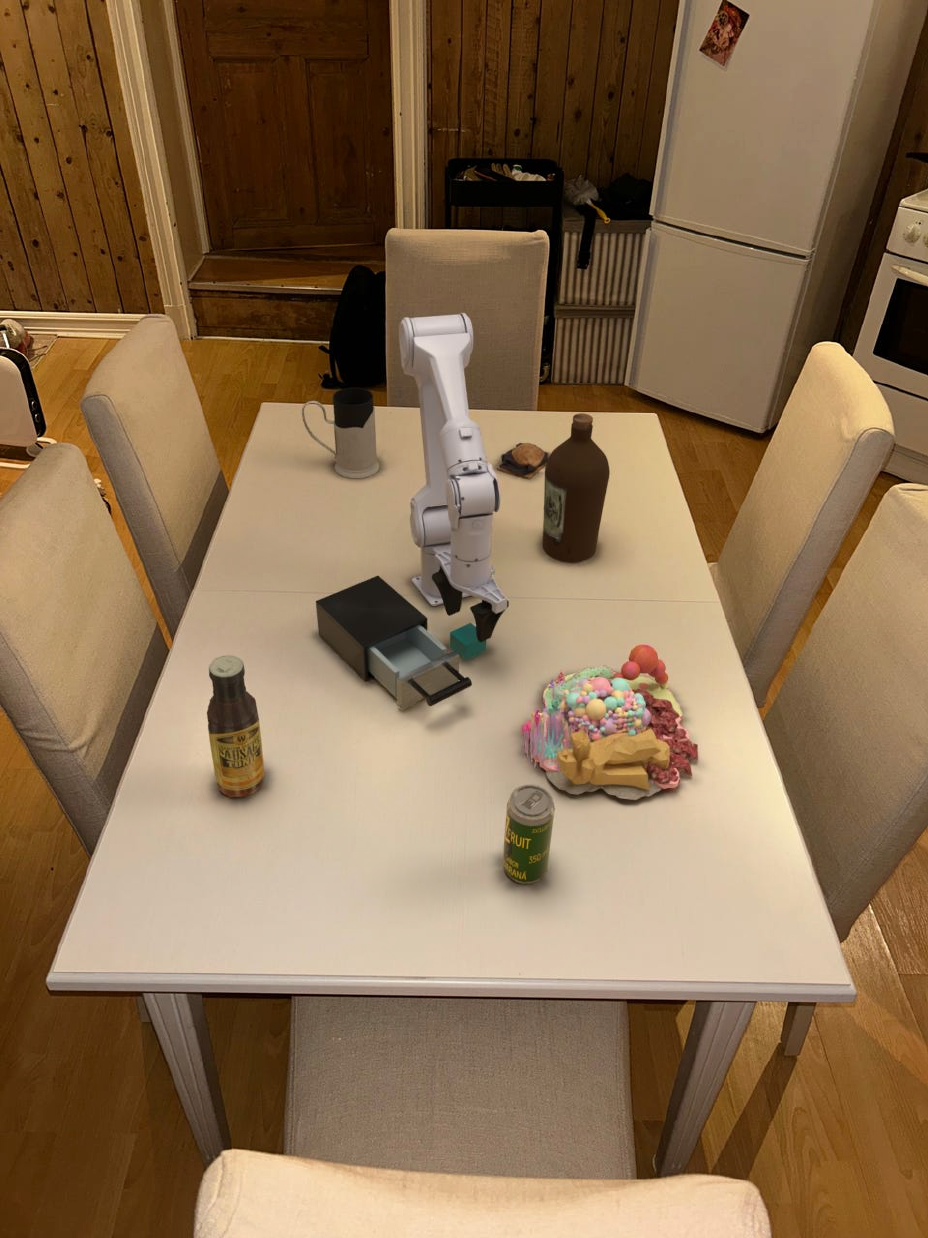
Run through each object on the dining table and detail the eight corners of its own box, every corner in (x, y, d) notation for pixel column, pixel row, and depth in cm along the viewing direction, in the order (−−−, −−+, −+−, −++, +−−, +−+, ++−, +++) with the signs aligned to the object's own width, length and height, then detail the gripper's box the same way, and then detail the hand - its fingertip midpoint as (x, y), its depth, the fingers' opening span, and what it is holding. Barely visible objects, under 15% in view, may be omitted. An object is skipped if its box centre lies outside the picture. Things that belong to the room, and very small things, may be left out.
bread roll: (518, 447, 196) (519, 430, 193) (555, 457, 192) (556, 441, 190) (492, 468, 188) (493, 452, 186) (530, 480, 185) (531, 463, 183)
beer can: (520, 841, 118) (526, 775, 110) (556, 865, 115) (564, 799, 107) (493, 869, 114) (497, 803, 107) (529, 894, 112) (536, 828, 104)
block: (470, 637, 148) (470, 622, 146) (486, 651, 145) (486, 635, 144) (449, 647, 146) (449, 632, 144) (465, 661, 143) (465, 646, 142)
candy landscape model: (719, 795, 124) (733, 745, 118) (542, 815, 121) (547, 765, 115) (657, 667, 143) (667, 619, 137) (503, 682, 140) (506, 634, 134)
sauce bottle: (225, 807, 121) (201, 691, 108) (211, 773, 125) (187, 659, 113) (274, 789, 123) (257, 674, 111) (259, 757, 127) (241, 643, 115)
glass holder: (377, 478, 184) (374, 407, 175) (303, 477, 184) (296, 405, 175) (381, 456, 191) (378, 386, 182) (310, 454, 191) (303, 384, 182)
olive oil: (581, 526, 173) (596, 398, 157) (610, 557, 165) (629, 426, 150) (528, 537, 170) (538, 408, 154) (555, 570, 162) (568, 438, 146)
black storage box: (427, 652, 145) (427, 618, 141) (365, 682, 139) (363, 647, 135) (379, 609, 153) (378, 575, 149) (318, 635, 147) (315, 601, 143)
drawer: (479, 700, 136) (480, 673, 133) (422, 730, 131) (422, 703, 128) (410, 637, 146) (409, 611, 143) (354, 662, 141) (352, 636, 138)
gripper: (526, 564, 132) (520, 640, 140) (462, 518, 141) (460, 592, 149) (486, 582, 128) (482, 659, 137) (423, 534, 137) (423, 608, 146)
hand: (468, 625), depth 143 cm, fingers open, 7 cm apart
